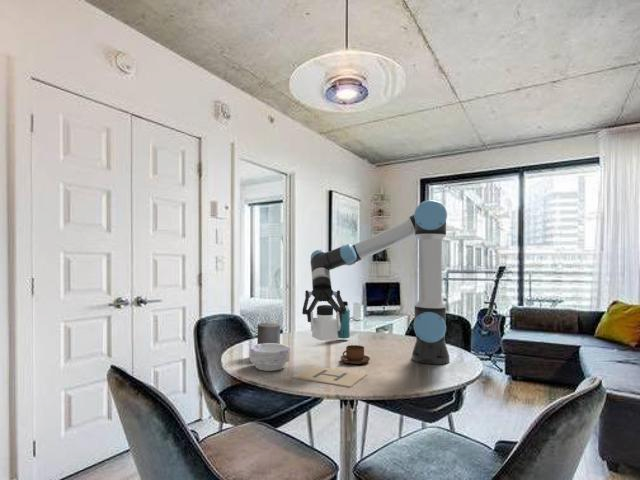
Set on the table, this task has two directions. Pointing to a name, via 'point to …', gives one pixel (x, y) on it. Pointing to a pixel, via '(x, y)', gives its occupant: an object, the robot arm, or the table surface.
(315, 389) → the table surface
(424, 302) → the robot arm
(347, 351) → the cup and saucer
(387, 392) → the table surface
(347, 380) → the letter card
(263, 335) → the pillar candle
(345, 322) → the beverage bottle
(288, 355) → the paper bowls
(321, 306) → the medicine bottle
